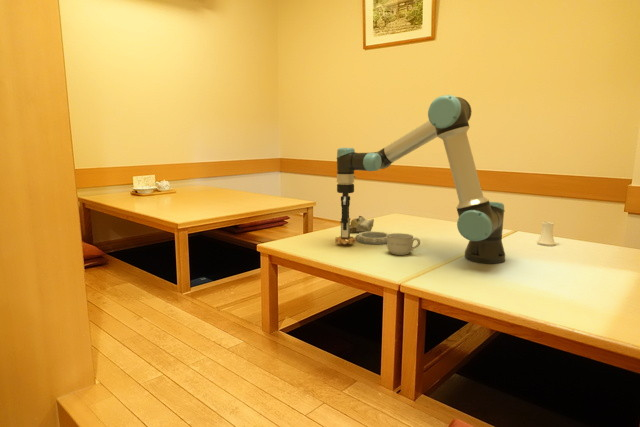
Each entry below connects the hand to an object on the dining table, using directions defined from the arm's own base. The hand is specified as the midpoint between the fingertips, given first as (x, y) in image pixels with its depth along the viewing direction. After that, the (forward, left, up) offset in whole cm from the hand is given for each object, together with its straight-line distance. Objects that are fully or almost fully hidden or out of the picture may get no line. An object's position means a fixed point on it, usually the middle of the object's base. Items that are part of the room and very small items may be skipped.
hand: (345, 235), depth 195 cm
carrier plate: (+11, -13, -4) cm, 17 cm away
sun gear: (0, 0, -3) cm, 3 cm away
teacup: (-12, -25, -4) cm, 28 cm away
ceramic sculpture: (+27, -5, -5) cm, 28 cm away
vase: (+14, -90, -4) cm, 91 cm away
